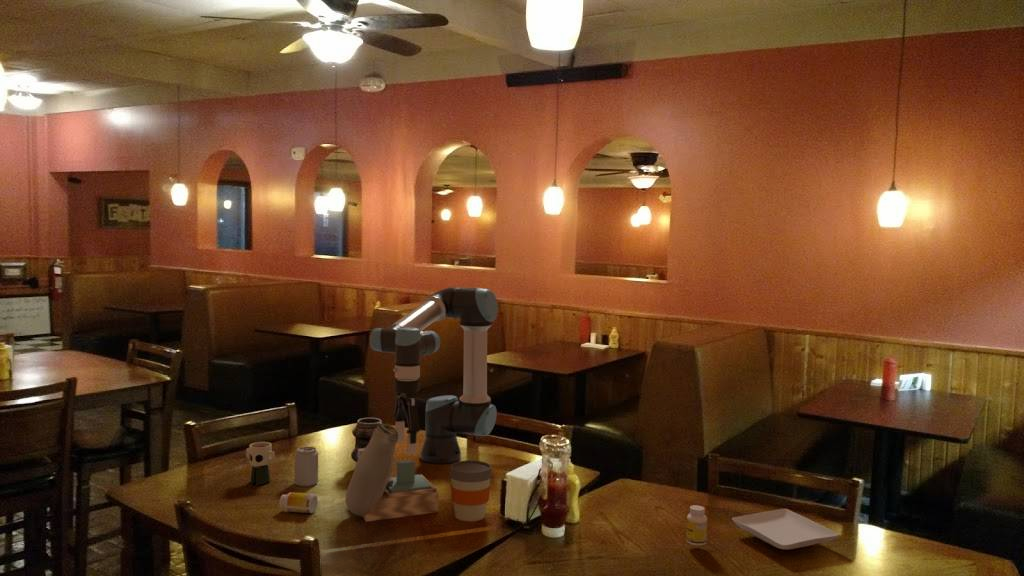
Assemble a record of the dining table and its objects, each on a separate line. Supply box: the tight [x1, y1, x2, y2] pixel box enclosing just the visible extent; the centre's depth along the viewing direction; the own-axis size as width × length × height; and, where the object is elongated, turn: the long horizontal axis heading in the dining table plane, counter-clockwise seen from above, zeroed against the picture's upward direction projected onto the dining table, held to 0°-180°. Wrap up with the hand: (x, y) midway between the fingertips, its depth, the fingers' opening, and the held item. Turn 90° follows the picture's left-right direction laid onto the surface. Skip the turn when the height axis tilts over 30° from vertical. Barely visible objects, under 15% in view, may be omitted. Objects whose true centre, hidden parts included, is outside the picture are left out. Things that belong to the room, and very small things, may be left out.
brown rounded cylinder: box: [345, 423, 398, 517], centre depth 217 cm, size 10×10×28 cm
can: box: [294, 446, 319, 488], centre depth 245 cm, size 8×8×12 cm
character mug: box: [245, 441, 276, 486], centre depth 245 cm, size 11×7×13 cm, turn 72°
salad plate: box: [731, 508, 840, 550], centre depth 212 cm, size 21×21×3 cm
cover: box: [386, 459, 430, 493], centre depth 227 cm, size 12×12×8 cm
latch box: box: [361, 473, 440, 522], centre depth 226 cm, size 22×16×7 cm
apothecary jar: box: [350, 417, 383, 463], centre depth 261 cm, size 12×12×18 cm
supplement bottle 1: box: [279, 491, 319, 514], centre depth 221 cm, size 6×6×10 cm
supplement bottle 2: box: [685, 504, 708, 546], centre depth 206 cm, size 5×5×10 cm
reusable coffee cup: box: [449, 459, 493, 522], centre depth 221 cm, size 13×12×15 cm
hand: (405, 447), depth 226 cm, fingers open, 13 cm apart
